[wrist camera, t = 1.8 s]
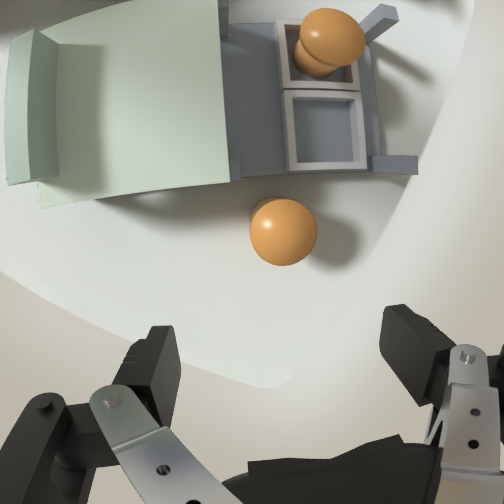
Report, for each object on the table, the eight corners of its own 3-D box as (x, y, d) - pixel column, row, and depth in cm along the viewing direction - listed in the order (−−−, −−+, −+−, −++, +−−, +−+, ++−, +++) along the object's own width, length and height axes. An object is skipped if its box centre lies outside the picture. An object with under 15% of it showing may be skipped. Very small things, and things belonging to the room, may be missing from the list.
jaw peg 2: (284, 33, 22) (297, 5, 16) (337, 36, 22) (360, 12, 17) (290, 82, 23) (305, 61, 18) (343, 83, 23) (370, 66, 18)
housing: (78, 57, 22) (43, 35, 15) (363, 34, 23) (395, 7, 16) (84, 196, 26) (45, 207, 19) (377, 171, 27) (418, 174, 20)
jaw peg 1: (244, 195, 27) (247, 202, 21) (298, 191, 27) (315, 197, 22) (248, 248, 28) (252, 268, 23) (301, 244, 28) (317, 262, 23)
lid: (43, 33, 15) (15, 16, 11) (216, -9, 15) (215, -42, 11) (45, 207, 19) (11, 218, 15) (229, 181, 19) (230, 185, 15)
